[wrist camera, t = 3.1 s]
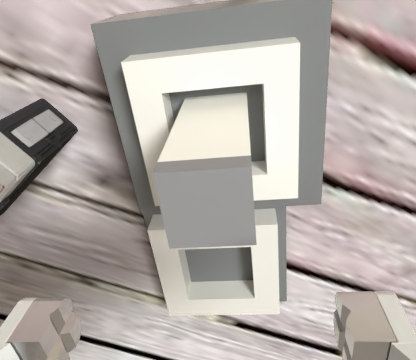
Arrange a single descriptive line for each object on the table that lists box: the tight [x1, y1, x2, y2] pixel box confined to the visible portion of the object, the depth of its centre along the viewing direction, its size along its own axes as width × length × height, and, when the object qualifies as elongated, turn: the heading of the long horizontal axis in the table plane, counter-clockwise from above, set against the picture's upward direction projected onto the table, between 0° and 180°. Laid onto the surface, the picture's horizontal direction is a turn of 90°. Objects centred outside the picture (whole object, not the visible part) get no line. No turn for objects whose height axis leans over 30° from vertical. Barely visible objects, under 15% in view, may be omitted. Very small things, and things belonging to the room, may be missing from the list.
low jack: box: [143, 206, 287, 316], centre depth 36 cm, size 14×14×3 cm
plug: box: [152, 92, 257, 249], centre depth 19 cm, size 4×4×10 cm
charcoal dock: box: [91, 0, 332, 214], centre depth 25 cm, size 14×14×8 cm
